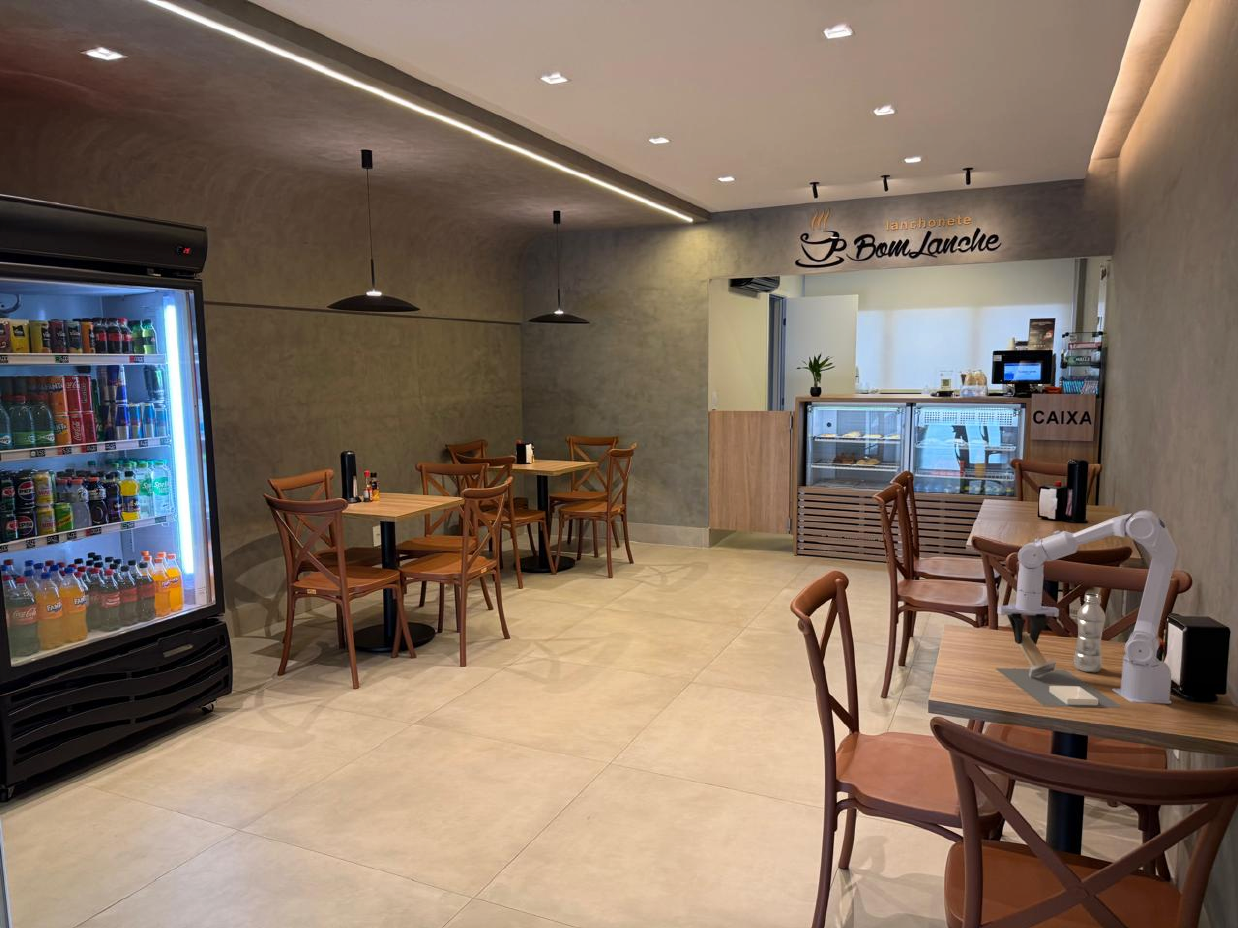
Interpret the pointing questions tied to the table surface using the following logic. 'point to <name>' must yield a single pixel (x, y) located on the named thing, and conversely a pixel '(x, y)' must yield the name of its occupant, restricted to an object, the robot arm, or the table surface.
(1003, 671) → the mat
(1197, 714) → the table surface
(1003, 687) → the table surface
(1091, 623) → the plastic bottle
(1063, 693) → the tile
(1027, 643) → the tan upright post
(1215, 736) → the table surface
